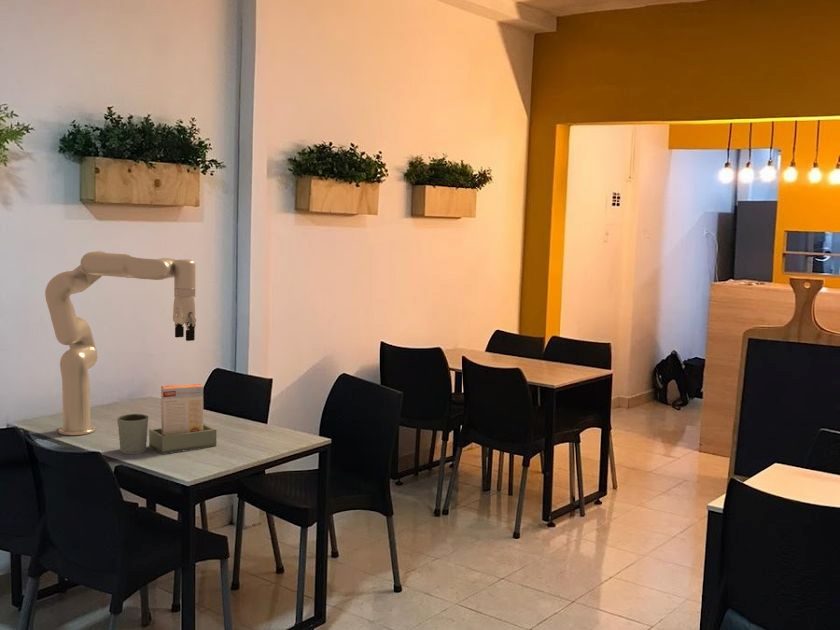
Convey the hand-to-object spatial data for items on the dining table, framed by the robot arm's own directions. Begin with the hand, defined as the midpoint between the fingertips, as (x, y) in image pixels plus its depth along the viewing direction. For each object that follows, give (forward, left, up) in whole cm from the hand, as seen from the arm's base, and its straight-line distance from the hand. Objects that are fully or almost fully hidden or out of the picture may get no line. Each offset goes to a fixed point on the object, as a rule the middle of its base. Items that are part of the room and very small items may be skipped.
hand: (184, 338), depth 314 cm
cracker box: (+15, -7, -36) cm, 39 cm away
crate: (+15, -7, -36) cm, 40 cm away
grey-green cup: (+12, -24, -36) cm, 45 cm away
